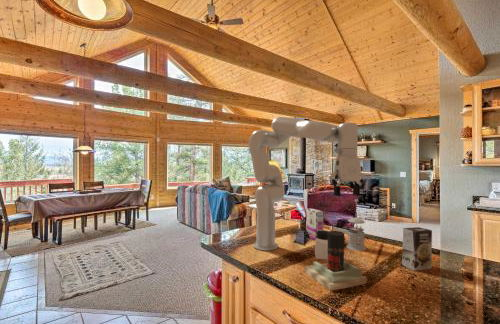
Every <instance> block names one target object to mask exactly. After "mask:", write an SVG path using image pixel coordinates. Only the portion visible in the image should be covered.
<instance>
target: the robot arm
mask: <svg viewBox="0 0 500 324" xmlns="http://www.w3.org/2000/svg"><path fill="white" fill-rule="evenodd" d="M271 128H272V129H271V130H272V131H271V130H267V129H258V130H255V131H253V132H252V133H251V135H250V137H249V140H248V149H249V152H250V157H251V160H252V161H251V162H252V168H253V173H254V174H253V175H254V178H255V180H256V182H257V183H262V184H264V185H260V186H259V187H257V188H256V190H255V193H254V199H255V205H256V207H255V208H256V234H255V235H256V236H255V237H256V238H255V240H256V241H255V242H254V243H253V248H254V249H255V250H259V251H266V252H267V251H274V250H276V249H278V247H279V244H278V243H276V211H275V205H274V203H278V202H280V201H282V200H283V199H284V197H285V187H284V182H283V177H282V172H281V170H280V167H278V166H277V165H275V164H270V161H269V156H268V155H269V154H268V153H267V151H266V150H265V148H266V147H267V148H276V147H278V146H280V145H282V144H283V143H284V142H286V141H287V140H288V139H289V138H291V137H295V138H299V139H301V138H305V139H310V140H316V141H321V142H325V143H337V150H336V151H335V154H337V156H336V158H335V162H334V163H335V164H334V171H333V172H331V173H330V174H329V175H328V178H329V181H330V183H331V184H332V186H333V196H335V197H341V189H342V187H341V186H340V185H341V183H342V182H347V183H348V182H352V183H353V186H352V195H353V196H360V195H361V193H360V192H361V187H360V186H362V184H363V182H364V179H365V177H366V175H365V174H364V173H362V170H361V169H362V167H361V166H362V165H361V161H360V157H359V156H358V140H359V139H358V137H359V136H358V134H359V133H358V130H359V128H358V124H357V123H355V122H343V123H339V124H338V125H336V124H332V123H329V122H323V121H316V120H315V121H314V120H306V119H302V118H295V117H285V116H278V117H276V118H274V119H273V120H272V121H271ZM264 147H265V148H264ZM265 183H267V184H265Z"/></svg>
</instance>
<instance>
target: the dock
mask: <svg viewBox="0 0 500 324" xmlns="http://www.w3.org/2000/svg"><path fill="white" fill-rule="evenodd" d="M303 270H304V272H305V274H307V275H309V277H311V278H312V279H314V280H315V281H316V282H318V283H319V284H321V285H322V286H323V287H324V288H325V289H326V290H328V291H330V292H331V291H335V290H340V289H341V290H342V289H346V288H351V287H356V286H361V285H362V286H363V285H367V284H368V278H367V277H366V276H364V275H362V269H361V268H359V267H357V266H355V265H353V264H352V263H350V262H348V261H346V260H344V271H339V272H332V271H331V270H329V269H327V263H326V262H325V263H320V262H318V261H316V260H315V261H313V263H312V265H305V266H304V268H303ZM366 283H367V284H366Z"/></svg>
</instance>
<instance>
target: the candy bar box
mask: <svg viewBox="0 0 500 324" xmlns="http://www.w3.org/2000/svg"><path fill="white" fill-rule="evenodd" d="M324 213H325V212H324V211H323V210H319V209H315V208H306V222H305V223H306V225H305V226H306V230H307V232H308V234H309V237H310V238H309V237H308V238H309V239H311V240H313V241H315V239H317V231H319V230H324V221H325V220H324V216H325V215H324ZM306 230H305V231H306Z"/></svg>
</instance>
